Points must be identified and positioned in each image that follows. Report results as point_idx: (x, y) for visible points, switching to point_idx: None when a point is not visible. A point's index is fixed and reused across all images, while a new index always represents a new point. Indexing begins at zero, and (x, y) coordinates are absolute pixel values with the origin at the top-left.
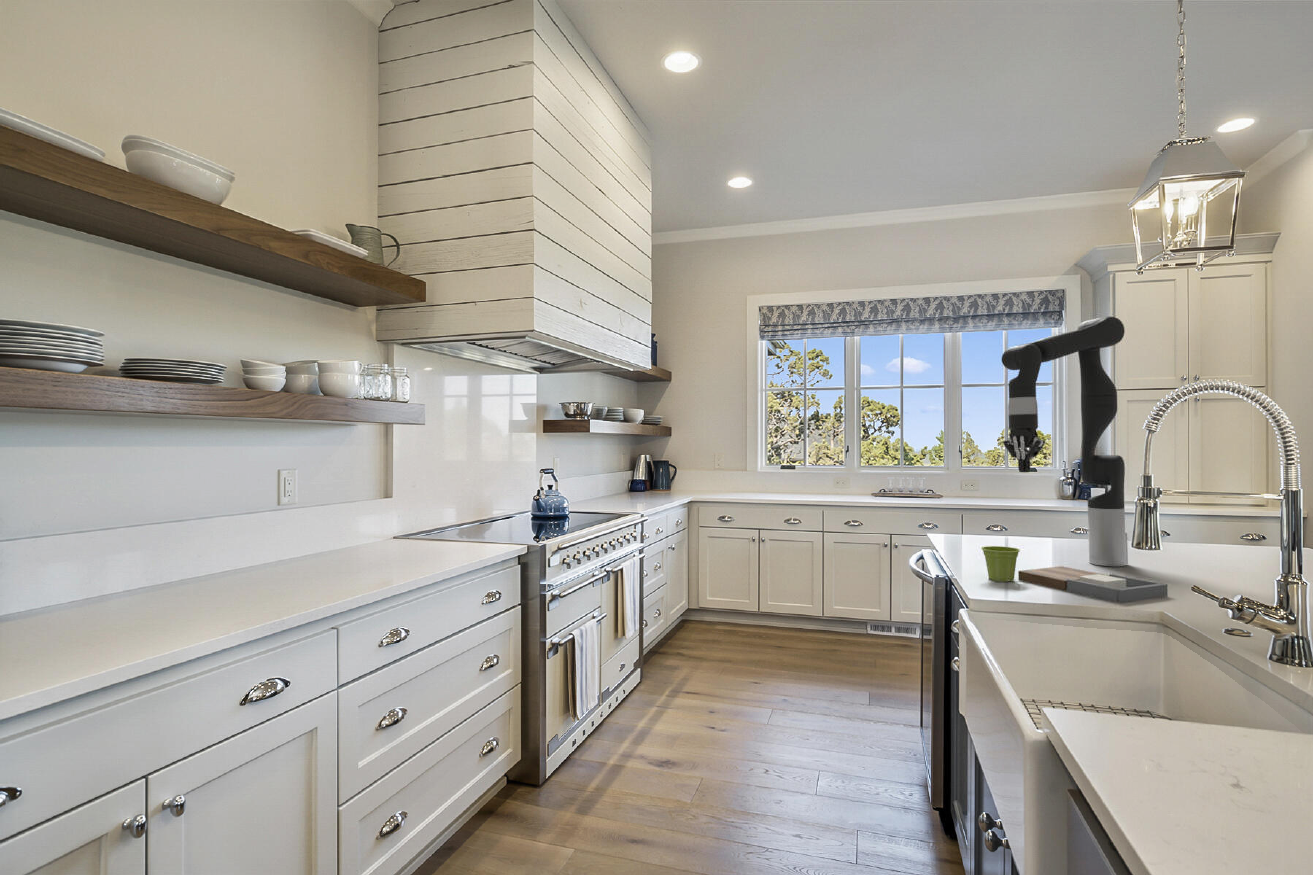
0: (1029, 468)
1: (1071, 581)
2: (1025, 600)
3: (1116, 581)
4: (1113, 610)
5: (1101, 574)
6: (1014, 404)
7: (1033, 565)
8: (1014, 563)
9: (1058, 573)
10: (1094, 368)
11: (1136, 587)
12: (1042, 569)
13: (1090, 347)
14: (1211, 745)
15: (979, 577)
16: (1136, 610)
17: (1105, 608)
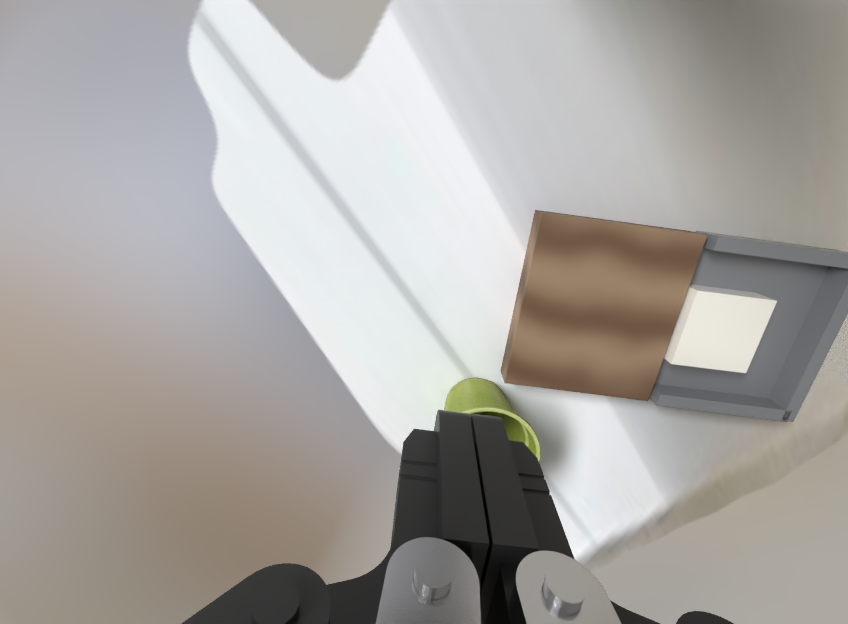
0: (535, 472)
1: (667, 405)
2: (620, 521)
3: (759, 334)
4: (774, 467)
5: (682, 241)
6: None
7: (388, 126)
8: (519, 427)
9: (592, 328)
10: None
11: (816, 363)
12: (533, 311)
13: None
14: None
15: (425, 419)
16: (809, 435)
17: (758, 465)
